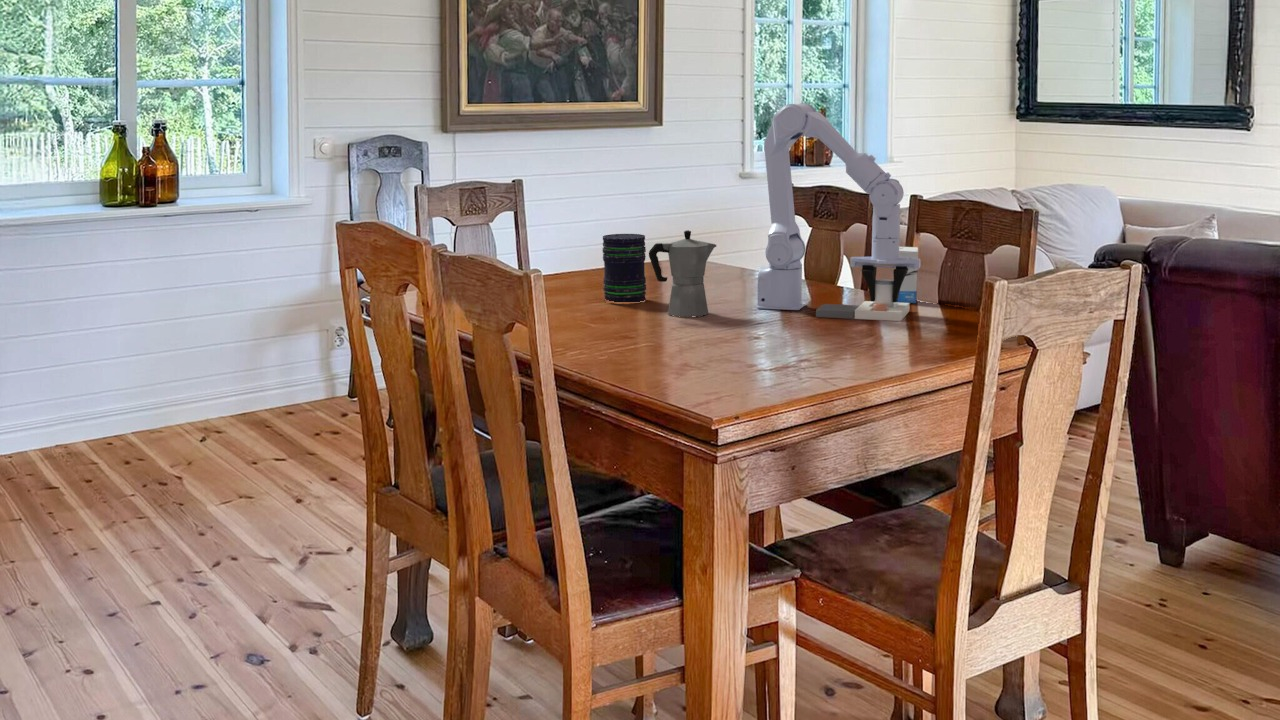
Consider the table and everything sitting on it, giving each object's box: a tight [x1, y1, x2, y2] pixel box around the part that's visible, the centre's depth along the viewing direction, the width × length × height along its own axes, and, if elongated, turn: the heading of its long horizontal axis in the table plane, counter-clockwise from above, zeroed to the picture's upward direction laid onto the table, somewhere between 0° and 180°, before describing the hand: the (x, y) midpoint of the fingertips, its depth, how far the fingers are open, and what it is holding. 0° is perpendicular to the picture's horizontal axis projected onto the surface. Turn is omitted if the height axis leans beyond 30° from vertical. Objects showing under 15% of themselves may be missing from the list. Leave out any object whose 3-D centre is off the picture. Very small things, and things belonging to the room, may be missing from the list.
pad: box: [815, 303, 861, 320], centre depth 271 cm, size 8×8×2 cm
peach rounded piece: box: [873, 303, 887, 311], centre depth 266 cm, size 3×3×3 cm
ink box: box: [894, 246, 919, 304], centre depth 286 cm, size 8×5×12 cm, turn 168°
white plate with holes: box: [854, 300, 911, 322], centre depth 270 cm, size 10×12×2 cm
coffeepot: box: [648, 229, 717, 318], centre depth 272 cm, size 15×9×18 cm, turn 110°
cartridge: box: [875, 279, 894, 308], centre depth 271 cm, size 4×4×7 cm
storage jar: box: [602, 233, 647, 302], centre depth 291 cm, size 10×10×15 cm
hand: (884, 301), depth 271 cm, fingers open, 4 cm apart
